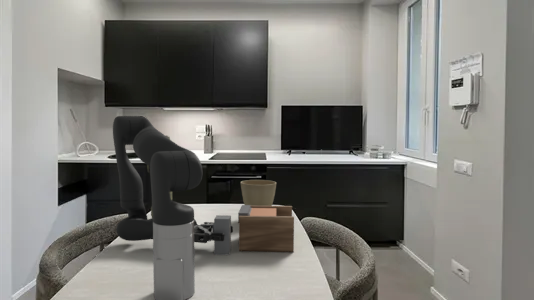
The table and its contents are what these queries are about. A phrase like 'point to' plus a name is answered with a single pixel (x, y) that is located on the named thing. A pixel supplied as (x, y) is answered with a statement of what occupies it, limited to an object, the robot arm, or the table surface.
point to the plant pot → (258, 192)
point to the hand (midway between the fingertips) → (228, 233)
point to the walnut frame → (267, 231)
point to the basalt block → (223, 226)
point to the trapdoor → (256, 211)
